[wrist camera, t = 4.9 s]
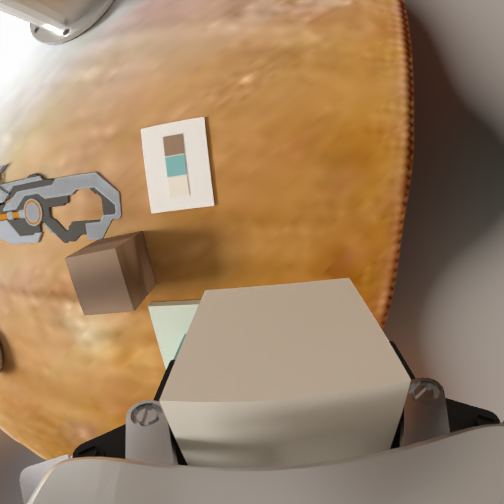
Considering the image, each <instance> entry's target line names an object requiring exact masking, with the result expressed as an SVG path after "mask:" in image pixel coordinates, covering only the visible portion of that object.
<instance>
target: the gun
mask: <svg viewBox="0 0 504 504" xmlns="http://www.w3.org/2000/svg"><path fill="white" fill-rule="evenodd" d="M7 165H8V164H7ZM7 165H5V166H4V165H2V166H0V174H1V172H2V171H3V170H4V169H5V167H6V166H7ZM0 180H1V175H0ZM86 188H90V189H91V190H92V191H93V192H94V193H95V194H96V193H97V194H98V195H99V196H101V197H102V205H103V214H104V215H103V217H102V219H101V220H90V221H77V222H72V223H71V225H70V226H69V230H66V229H65V228H64V227H63V226H62V225H61V224H60V223H59V222H58V221H57V220H56V219H54V218H53V217H52V216H51V210H50V207H55V206H63V205H65V203H69V195H73V193H74V192H75V191H76V190H78V189H86ZM8 197H13V198H12V200H11V202H9V203H7V204H4V205H1V204H2V202H6V200H7V199H8ZM18 210H19V211H18ZM13 211H18V212H13ZM5 212H7V213H5ZM0 213H5V214H0V220H1V221H0V238H1V239H2V240H4V241H6V242H8V243H10V244H22V243H38V242H39V241H40V239H41V236H42V233H43V232H41V231H42V229H41V224H42V222H44V225H45V226H46V228H47V229H48V230H49V231H50V232H54V233H53V234H54V235H55V236H58V237H59V238H60V239H61V240H62V241H63V242H64V243H68V242H69V241H76V240H77V239H78V238H79V237H80V235H83V234H87V237H88V240H93V239H103V237H104V235H105V233H106V231H107V229H108V227H109V225H110V223H111V222H112V220H113V219H120V217H121V215H122V212H121V202H120V192H119V191H118V190H117V189H115V188H114V187H113V186H112V185H111V184H110V183H109V182H107V181H106V180H105V179H104V178H103V177H102V176H100V175H99V174H98V173H97V172H92V173H85V174H79V175H72V176H67V177H61V178H56V179H55V180H54V179H44V178H43V176H42V175H40V176H39V175H38V174H32V175H29V176H28V178H27V179H22V180H18V181H14V182H10V183H6V184H2V185H0ZM14 218H20V219H14ZM5 219H8V220H5Z"/></svg>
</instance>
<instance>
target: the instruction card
mask: <svg viewBox="0 0 504 504" xmlns="http://www.w3.org/2000/svg"><path fill="white" fill-rule="evenodd" d="M141 137H142V146H143V155H144V164H145V172H146V179H147V187H148V194H149V200H150V207H151V213H159V212H167V211H174V210H182V209H190V208H199V207H207V206H214V197H213V188H212V180H211V172H210V163H209V155H208V146H207V137H206V127H205V118H204V117H200V118H194V119H188V120H182V121H177V122H172V123H167V124H162V125H157V126H152V127H148V128H143V129H141Z"/></svg>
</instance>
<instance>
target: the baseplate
mask: <svg viewBox="0 0 504 504" xmlns="http://www.w3.org/2000/svg"><path fill="white" fill-rule="evenodd" d="M200 301H201V300H186V301H166V302H151V303H150V305H149V306H148V308H149V312H150V316H151V319H152V323H153V327H154V330H155V334H156V338H157V341H158V344H159V348H160V351H161V355H162V358H163V361H164V364H165V368H166V369H167V367H168V365H169V363H170V361H171V360H173V359H174V357H175V354H176V352H177V350H178V347H179V345H180V343H181V341H182V338H183V336H184V334H187V331H188V329H189V327H190V324H191V322H192V319H193V317H194V315H195V312H196V310H197V308H198V305H199V303H200Z"/></svg>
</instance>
